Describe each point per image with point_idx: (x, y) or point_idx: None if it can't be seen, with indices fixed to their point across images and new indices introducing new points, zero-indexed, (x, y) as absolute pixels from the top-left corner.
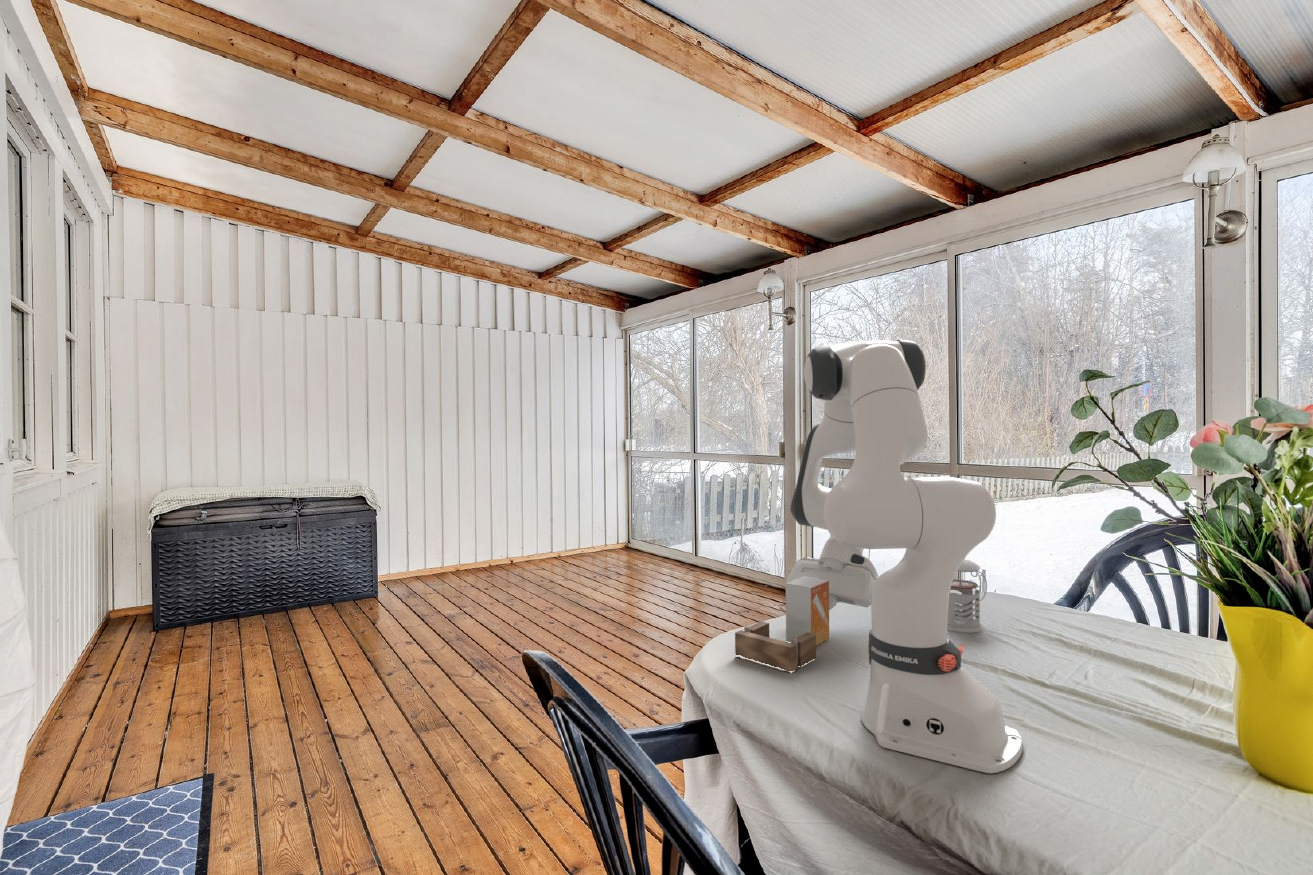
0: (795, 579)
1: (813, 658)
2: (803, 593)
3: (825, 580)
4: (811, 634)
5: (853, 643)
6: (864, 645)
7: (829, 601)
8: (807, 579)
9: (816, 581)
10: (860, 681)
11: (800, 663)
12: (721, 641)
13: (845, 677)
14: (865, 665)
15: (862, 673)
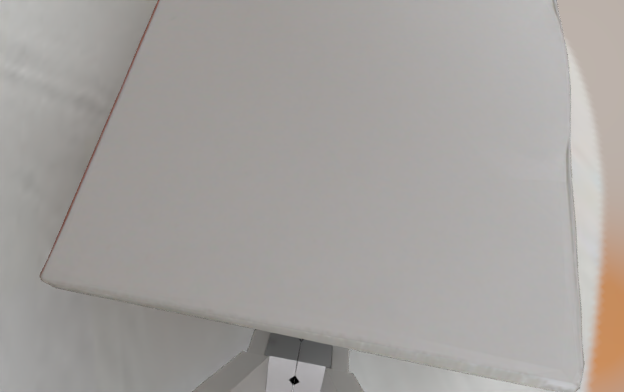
0: (559, 77)
1: None
2: None
3: (102, 249)
4: None
5: None
6: (97, 298)
7: (213, 390)
8: (399, 142)
9: (229, 103)
10: (92, 8)
11: None
12: (579, 82)
13: (133, 12)
14: (83, 110)
15: (89, 53)
